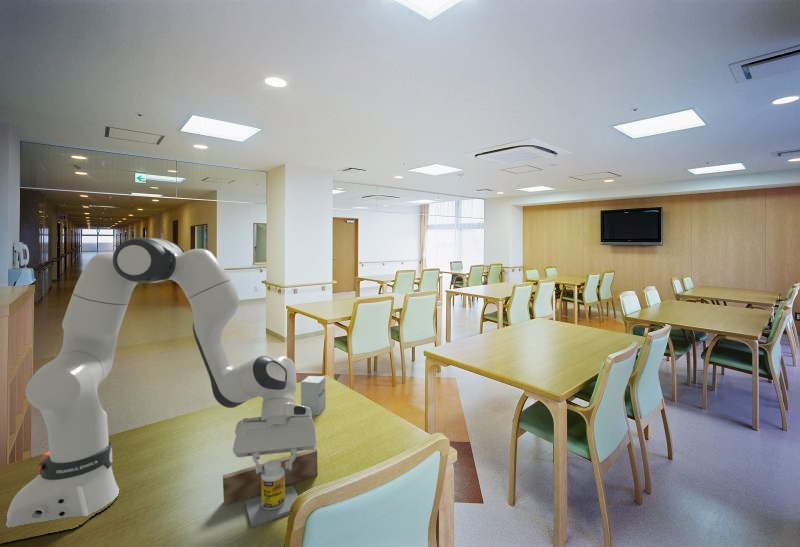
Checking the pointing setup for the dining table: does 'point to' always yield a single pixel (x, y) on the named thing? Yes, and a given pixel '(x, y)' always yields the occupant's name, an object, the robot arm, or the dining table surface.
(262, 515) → the grey mat
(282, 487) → the supplement bottle
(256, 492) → the walnut screen
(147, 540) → the dining table surface
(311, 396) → the supplement box
